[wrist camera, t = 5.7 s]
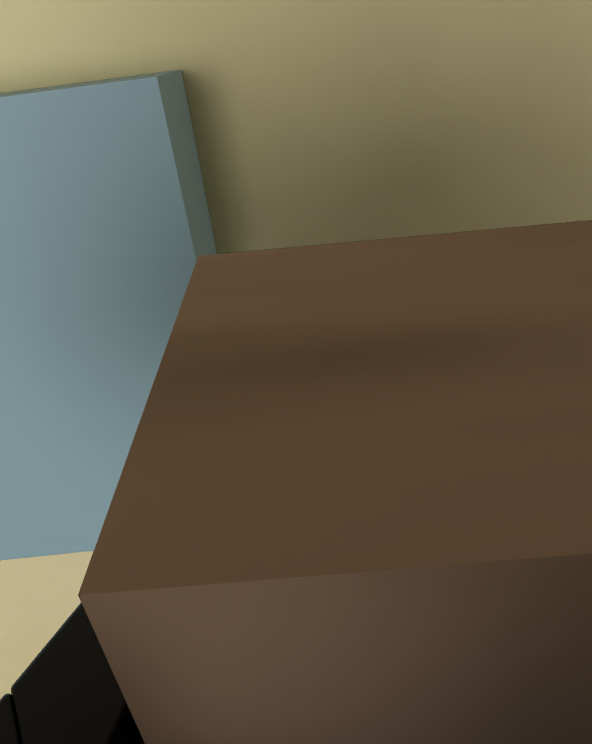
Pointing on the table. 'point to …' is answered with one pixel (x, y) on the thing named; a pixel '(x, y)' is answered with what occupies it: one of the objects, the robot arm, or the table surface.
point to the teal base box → (87, 291)
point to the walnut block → (362, 499)
